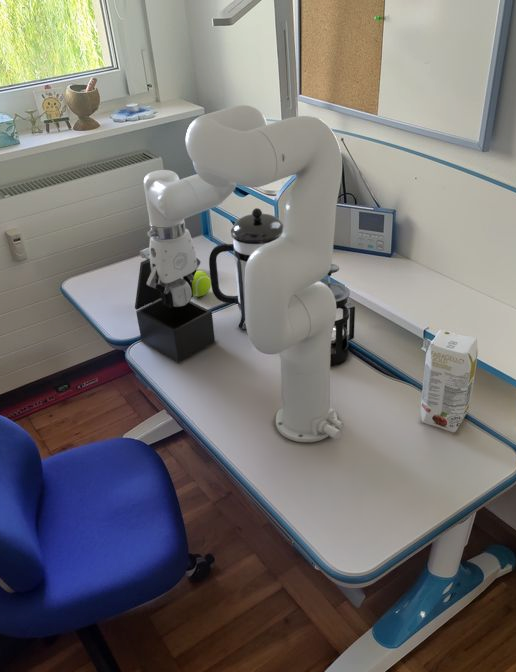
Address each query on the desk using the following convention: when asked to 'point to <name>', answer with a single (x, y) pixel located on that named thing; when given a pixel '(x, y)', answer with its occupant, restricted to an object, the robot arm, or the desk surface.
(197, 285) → the tennis ball
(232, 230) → the coffee press
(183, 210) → the robot arm
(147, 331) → the hinged black storage box
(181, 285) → the die
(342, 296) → the french press
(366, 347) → the desk surface
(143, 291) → the lid
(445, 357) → the juice carton
